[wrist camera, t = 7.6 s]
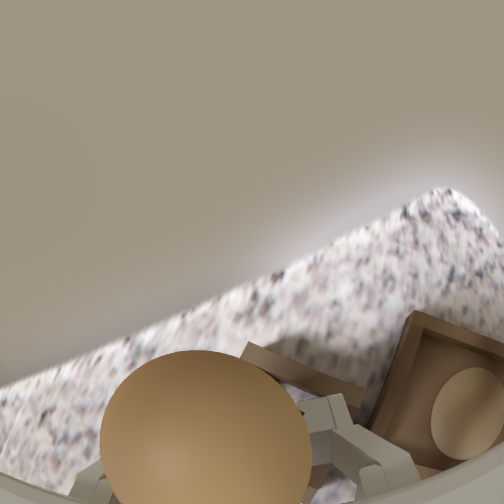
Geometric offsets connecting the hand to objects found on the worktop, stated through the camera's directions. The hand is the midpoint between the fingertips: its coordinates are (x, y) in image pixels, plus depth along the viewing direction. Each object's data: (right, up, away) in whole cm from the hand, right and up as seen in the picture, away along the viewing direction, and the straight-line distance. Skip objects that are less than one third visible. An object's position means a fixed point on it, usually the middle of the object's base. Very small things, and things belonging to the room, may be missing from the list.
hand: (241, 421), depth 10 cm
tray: (+16, -6, +7) cm, 19 cm away
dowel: (+1, -4, +5) cm, 6 cm away
